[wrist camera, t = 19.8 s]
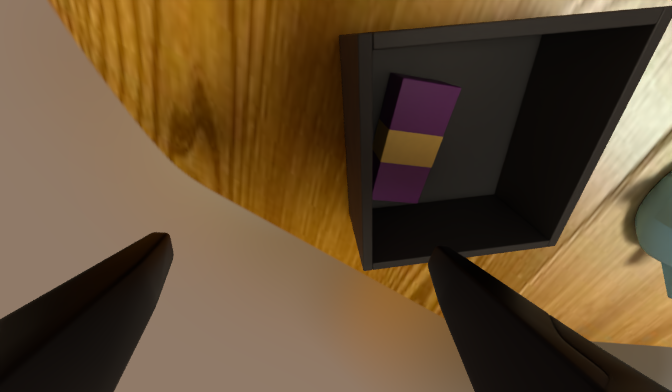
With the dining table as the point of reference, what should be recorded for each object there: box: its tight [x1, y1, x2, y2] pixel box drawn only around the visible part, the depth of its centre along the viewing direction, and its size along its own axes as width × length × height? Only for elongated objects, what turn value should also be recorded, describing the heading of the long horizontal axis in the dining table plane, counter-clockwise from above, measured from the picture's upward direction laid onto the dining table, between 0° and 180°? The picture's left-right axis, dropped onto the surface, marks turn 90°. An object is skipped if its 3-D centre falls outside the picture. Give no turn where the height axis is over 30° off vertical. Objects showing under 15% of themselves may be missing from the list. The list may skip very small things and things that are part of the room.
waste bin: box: [339, 6, 672, 271], centre depth 16 cm, size 13×13×6 cm
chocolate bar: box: [372, 73, 461, 203], centre depth 17 cm, size 8×4×2 cm, turn 171°
